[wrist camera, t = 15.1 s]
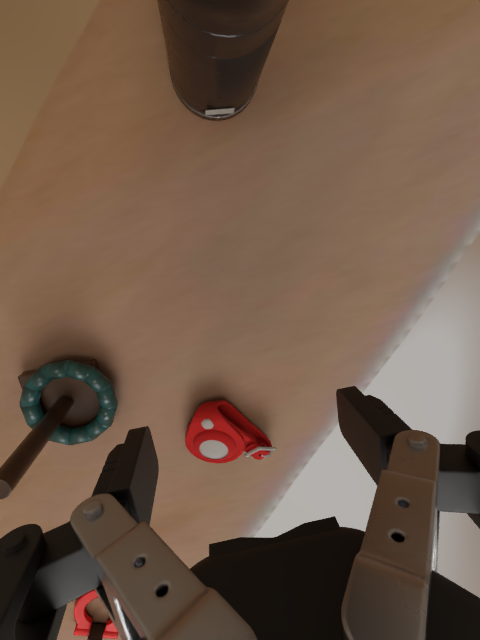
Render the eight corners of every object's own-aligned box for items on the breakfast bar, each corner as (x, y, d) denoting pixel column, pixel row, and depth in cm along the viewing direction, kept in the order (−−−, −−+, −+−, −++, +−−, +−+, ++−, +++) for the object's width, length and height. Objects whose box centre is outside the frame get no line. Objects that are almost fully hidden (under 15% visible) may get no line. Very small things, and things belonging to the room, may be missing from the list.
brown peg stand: (23, 372, 43) (-80, 454, 27) (95, 358, 44) (36, 432, 28) (45, 433, 46) (-38, 542, 30) (113, 420, 46) (67, 520, 30)
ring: (12, 368, 41) (3, 375, 40) (104, 350, 42) (99, 355, 40) (43, 446, 44) (35, 455, 42) (127, 427, 45) (124, 436, 43)
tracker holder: (191, 473, 48) (172, 423, 43) (197, 447, 52) (179, 398, 47) (278, 469, 46) (267, 416, 41) (277, 442, 50) (268, 391, 45)
